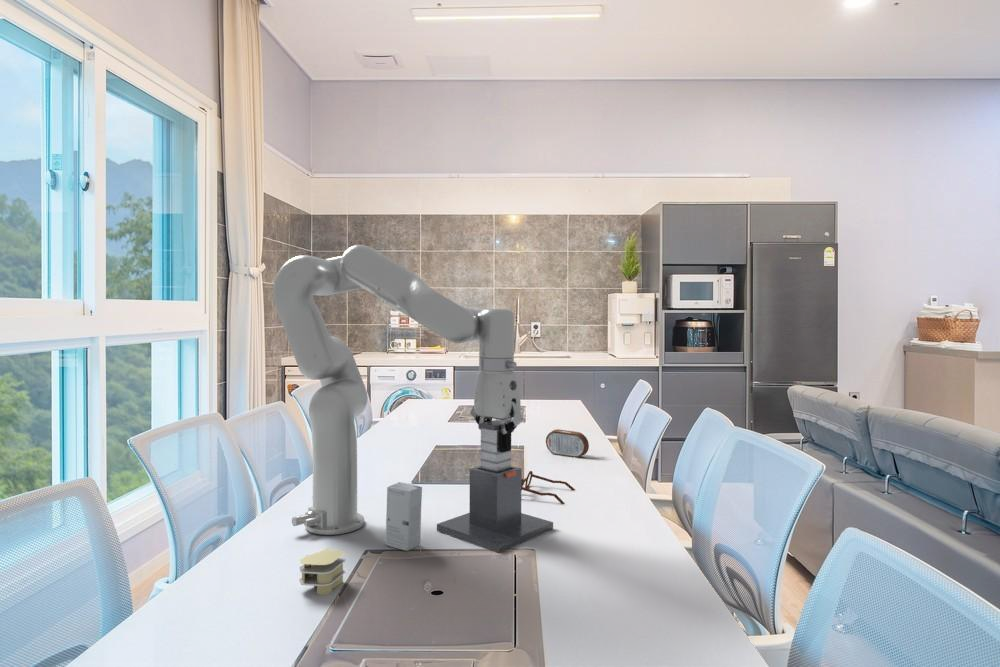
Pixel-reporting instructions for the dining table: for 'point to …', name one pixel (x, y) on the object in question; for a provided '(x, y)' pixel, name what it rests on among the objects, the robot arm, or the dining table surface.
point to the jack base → (495, 513)
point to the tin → (567, 443)
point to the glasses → (545, 480)
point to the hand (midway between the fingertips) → (495, 448)
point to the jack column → (493, 448)
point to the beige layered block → (322, 570)
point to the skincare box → (403, 516)
